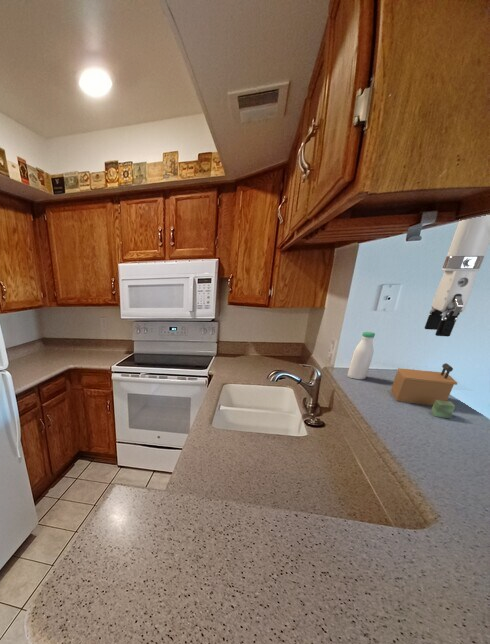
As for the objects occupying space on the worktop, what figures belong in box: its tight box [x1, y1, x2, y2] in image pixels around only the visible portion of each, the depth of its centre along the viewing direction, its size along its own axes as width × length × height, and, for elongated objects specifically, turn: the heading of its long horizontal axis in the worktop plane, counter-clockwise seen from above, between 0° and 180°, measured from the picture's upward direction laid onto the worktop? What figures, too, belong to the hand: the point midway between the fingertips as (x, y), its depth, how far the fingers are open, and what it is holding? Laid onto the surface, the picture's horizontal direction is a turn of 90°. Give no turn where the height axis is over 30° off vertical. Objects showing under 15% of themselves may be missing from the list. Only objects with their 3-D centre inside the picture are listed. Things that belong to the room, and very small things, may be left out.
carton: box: [390, 370, 455, 406], centre depth 126 cm, size 15×12×9 cm
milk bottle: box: [347, 331, 376, 380], centre depth 146 cm, size 8×8×20 cm
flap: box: [397, 362, 458, 386], centre depth 123 cm, size 16×12×5 cm
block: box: [430, 400, 456, 419], centre depth 114 cm, size 4×4×4 cm
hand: (436, 332), depth 92 cm, fingers open, 9 cm apart
